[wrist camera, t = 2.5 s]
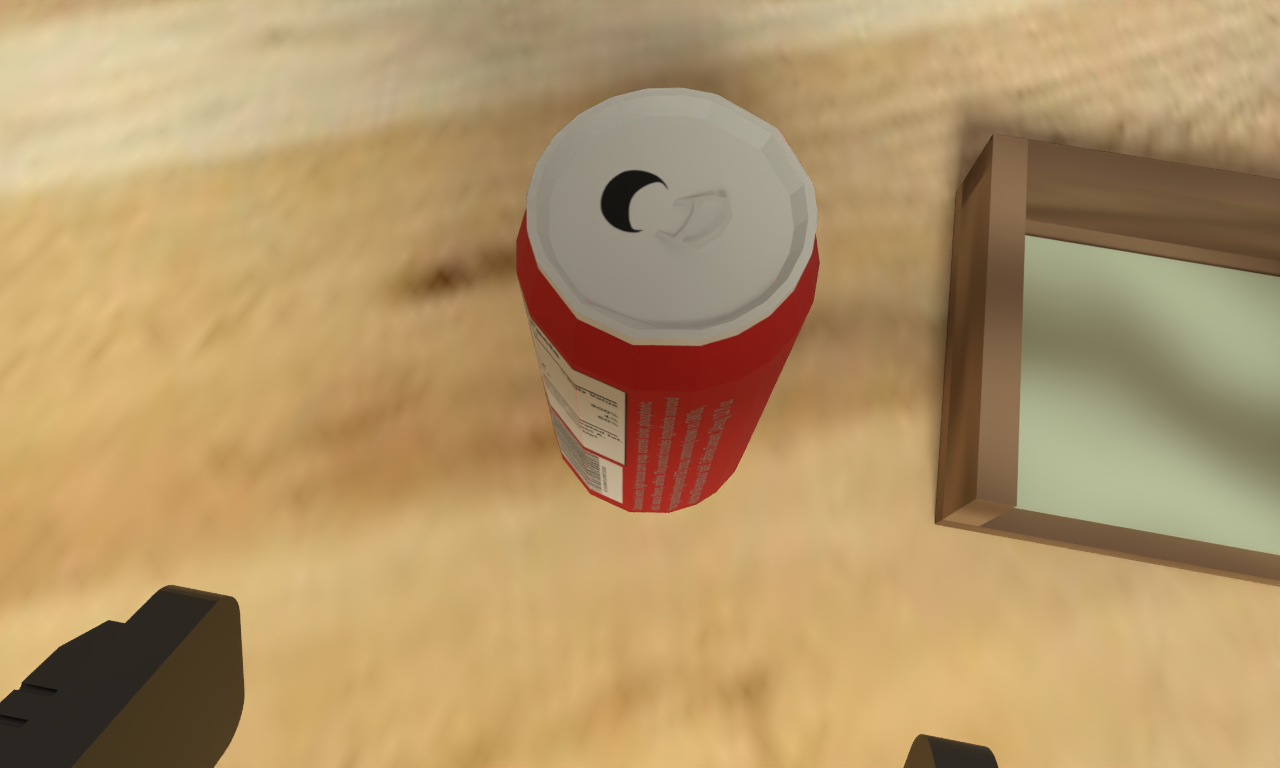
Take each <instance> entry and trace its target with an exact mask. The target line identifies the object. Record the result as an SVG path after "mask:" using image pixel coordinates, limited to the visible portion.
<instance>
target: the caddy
mask: <svg viewBox="0 0 1280 768" xmlns="http://www.w3.org/2000/svg"><path fill="white" fill-rule="evenodd" d="M935 524H936V525H942V526H947V527H953V528H958V529H964V530H970V531H975V532H981V533H986V534H992V535H997V536H1003V537H1008V538H1014V539H1019V540H1025V541H1031V542H1036V543H1042V544H1047V545H1053V546H1058V547H1064V548H1069V549H1075V550H1081V551H1086V552H1092V553H1097V554H1103V555H1108V556H1114V557H1119V558H1125V559H1130V560H1136V561H1142V562H1147V563H1153V564H1158V565H1164V566H1169V567H1175V568H1180V569H1186V570H1191V571H1197V572H1203V573H1208V574H1214V575H1219V576H1225V577H1230V578H1236V579H1241V580H1247V581H1252V582H1258V583H1264V584H1269V585H1275V586H1280V179H1275V178H1268V177H1262V176H1256V175H1250V174H1243V173H1237V172H1231V171H1224V170H1218V169H1212V168H1206V167H1199V166H1193V165H1187V164H1181V163H1174V162H1168V161H1162V160H1155V159H1149V158H1143V157H1137V156H1130V155H1124V154H1118V153H1112V152H1105V151H1099V150H1093V149H1086V148H1080V147H1074V146H1068V145H1061V144H1055V143H1049V142H1043V141H1036V140H1030V139H1024V138H1017V137H1011V136H1005V135H999V134H993V135H992V137H991V139H990V140H989V142H988V143H987V145H986V146H985V148H984V150H983V151H982V153H981V154H980V156H979V157H978V159H977V161H976V162H975V164H974V165H973V167H972V169H971V170H970V172H969V173H968V175H967V176H966V178H965V180H964V181H963V183H962V184H961V186H960V187H959V189H958V191H957V192H956V203H955V219H954V235H953V250H952V266H951V282H950V298H949V313H948V329H947V345H946V360H945V376H944V392H943V408H942V423H941V439H940V455H939V471H938V486H937V502H936V518H935Z"/></svg>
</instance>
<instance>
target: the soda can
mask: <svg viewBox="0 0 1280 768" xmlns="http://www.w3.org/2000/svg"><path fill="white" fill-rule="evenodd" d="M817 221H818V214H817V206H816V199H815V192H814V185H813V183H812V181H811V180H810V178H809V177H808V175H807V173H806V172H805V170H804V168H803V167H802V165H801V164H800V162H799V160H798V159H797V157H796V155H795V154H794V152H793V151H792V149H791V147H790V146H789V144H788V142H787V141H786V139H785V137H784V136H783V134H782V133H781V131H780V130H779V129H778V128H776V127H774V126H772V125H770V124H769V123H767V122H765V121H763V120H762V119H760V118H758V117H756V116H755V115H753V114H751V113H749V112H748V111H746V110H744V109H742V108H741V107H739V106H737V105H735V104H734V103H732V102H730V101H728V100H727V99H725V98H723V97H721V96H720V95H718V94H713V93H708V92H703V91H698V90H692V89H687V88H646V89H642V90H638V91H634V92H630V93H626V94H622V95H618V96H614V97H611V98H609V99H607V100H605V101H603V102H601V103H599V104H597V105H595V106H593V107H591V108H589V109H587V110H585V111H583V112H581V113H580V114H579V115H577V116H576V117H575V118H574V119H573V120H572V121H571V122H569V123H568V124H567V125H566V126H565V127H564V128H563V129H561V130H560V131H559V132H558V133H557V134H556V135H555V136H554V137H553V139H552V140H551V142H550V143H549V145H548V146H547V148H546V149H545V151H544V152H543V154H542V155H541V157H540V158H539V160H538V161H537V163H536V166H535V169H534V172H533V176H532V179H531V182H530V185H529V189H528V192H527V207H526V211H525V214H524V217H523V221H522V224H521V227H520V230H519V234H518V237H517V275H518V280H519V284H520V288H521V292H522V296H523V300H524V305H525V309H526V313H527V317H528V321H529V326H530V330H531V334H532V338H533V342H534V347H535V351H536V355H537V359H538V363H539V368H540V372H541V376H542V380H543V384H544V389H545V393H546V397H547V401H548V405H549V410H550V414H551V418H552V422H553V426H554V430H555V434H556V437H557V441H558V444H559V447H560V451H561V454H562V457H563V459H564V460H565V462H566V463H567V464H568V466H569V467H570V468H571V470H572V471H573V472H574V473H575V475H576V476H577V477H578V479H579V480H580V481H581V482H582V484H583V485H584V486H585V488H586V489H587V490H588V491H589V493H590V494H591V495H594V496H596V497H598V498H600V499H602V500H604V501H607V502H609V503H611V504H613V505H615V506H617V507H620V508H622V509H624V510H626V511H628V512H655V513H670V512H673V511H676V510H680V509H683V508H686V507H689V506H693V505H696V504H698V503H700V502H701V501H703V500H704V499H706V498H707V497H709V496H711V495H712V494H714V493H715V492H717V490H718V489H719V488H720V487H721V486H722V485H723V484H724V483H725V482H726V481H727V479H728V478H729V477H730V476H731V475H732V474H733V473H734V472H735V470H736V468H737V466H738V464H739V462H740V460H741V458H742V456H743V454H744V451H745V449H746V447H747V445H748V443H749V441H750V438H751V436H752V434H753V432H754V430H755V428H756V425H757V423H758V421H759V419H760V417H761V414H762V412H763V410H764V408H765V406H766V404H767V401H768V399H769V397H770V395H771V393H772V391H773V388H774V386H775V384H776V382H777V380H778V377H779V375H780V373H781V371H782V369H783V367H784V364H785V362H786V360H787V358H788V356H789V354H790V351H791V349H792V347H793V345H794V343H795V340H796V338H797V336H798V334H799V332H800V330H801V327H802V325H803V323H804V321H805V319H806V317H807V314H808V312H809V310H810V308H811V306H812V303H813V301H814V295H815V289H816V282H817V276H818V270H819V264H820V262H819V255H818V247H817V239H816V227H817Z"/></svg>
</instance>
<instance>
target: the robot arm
mask: <svg viewBox="0 0 1280 768" xmlns="http://www.w3.org/2000/svg"><path fill="white" fill-rule="evenodd" d="M243 704H244V675H243V658H242V641H241V624H240V610H239V605H238V602H237V601H236V599H235V598H233V597H231V596H226V595H221V594H216V593H211V592H206V591H201V590H196V589H190V588H185V587H180V586H175V585H168V586H165V587H163V588H161V589H160V590H158V591H157V592H156V593H155V594H154V595H153V596H152V597H151V598H150V599H149V600H148V601H147V602H146V603H145V604H144V605H143V606H142V607H141V608H140V609H139V610H138V611H137V612H136V613H135V614H134V615H133V616H132V617H131V618H130V619H129V620H128V621H127V622H126V623H120V622H115V621H110V620H108V621H106V622H104V623H102V624H101V625H99V626H97V627H95V628H93V629H91V630H90V631H88V632H86V633H84V634H82V635H80V636H79V637H77V638H75V639H73V640H71V641H69V642H68V643H66V644H64V645H62V646H60V647H59V648H58V649H57V650H56V651H55V652H53V653H52V654H51V655H50V656H49V657H48V658H47V659H46V660H45V661H44V662H43V663H42V664H41V665H40V666H39V667H38V668H36V669H35V670H34V671H33V672H32V673H31V674H30V675H29V676H28V677H27V678H26V679H25V680H24V681H23V682H22V685H21V687H20V689H19V690H13V691H12V692H11V693H10V694H9V695H8V696H7V697H6V698H5V699H4V700H2V701H1V702H0V768H214V766H215V765H216V764H217V762H218V761H219V759H220V758H221V756H222V755H223V753H224V752H225V750H226V749H227V747H228V746H229V744H230V742H231V740H232V738H233V736H234V734H235V732H236V729H237V727H238V724H239V721H240V718H241V714H242V710H243ZM904 768H998V765H997V762H996V759H995V757H994V755H993V753H992V751H991V750H990V749H989V748H987V747H985V746H980V745H975V744H970V743H965V742H959V741H954V740H949V739H944V738H939V737H934V736H929V735H924V734H920V735H918V736H917V737H916V738H915V740H914V742H913V744H912V746H911V749H910V752H909V754H908V757H907V760H906V762H905V765H904Z"/></svg>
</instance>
